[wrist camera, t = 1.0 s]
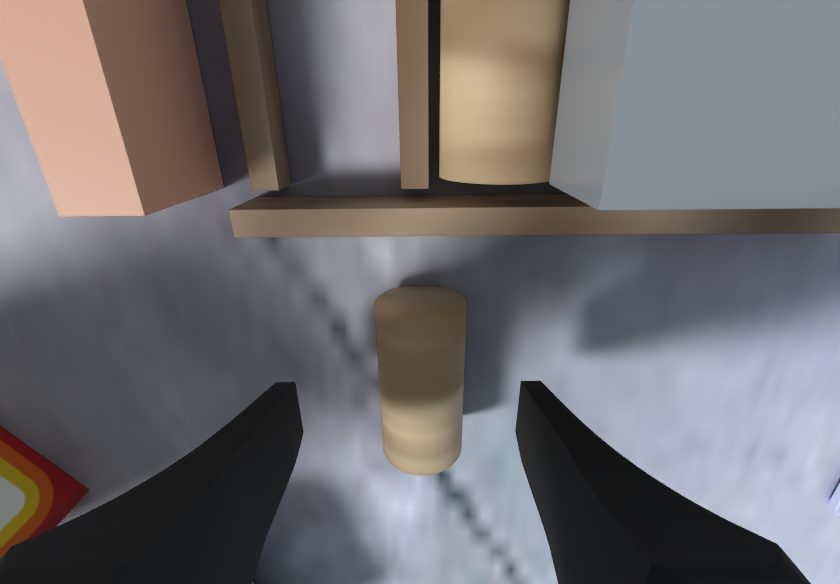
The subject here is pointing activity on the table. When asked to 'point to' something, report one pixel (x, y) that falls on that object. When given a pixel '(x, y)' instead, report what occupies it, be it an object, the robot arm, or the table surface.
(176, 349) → the table surface
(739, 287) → the table surface
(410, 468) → the roller
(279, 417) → the robot arm
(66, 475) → the baking soda box
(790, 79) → the slab
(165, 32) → the block
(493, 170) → the roller track
